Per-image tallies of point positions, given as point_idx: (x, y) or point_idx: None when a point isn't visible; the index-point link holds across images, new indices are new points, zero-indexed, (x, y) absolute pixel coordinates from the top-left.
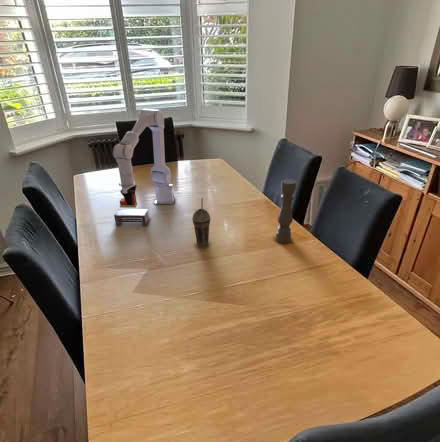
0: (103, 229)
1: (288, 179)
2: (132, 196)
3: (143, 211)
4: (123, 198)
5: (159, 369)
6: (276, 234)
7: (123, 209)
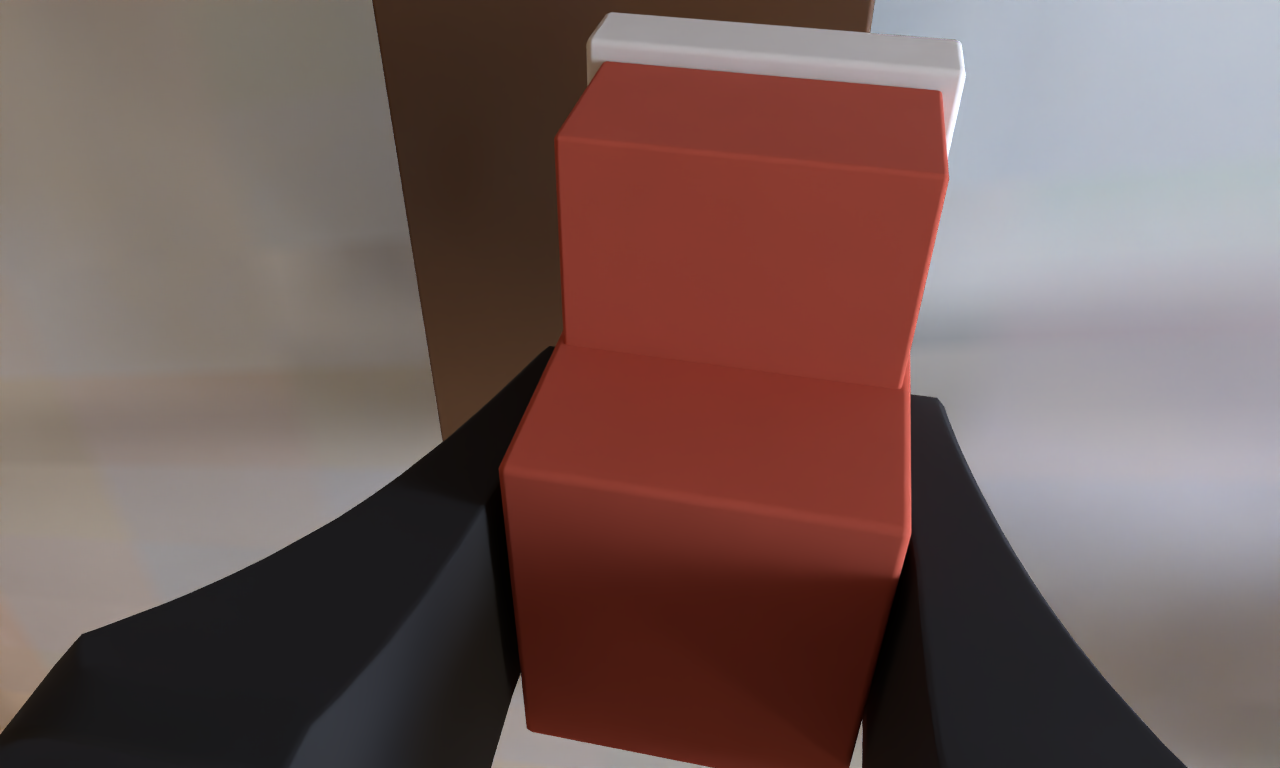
0: None
1: None
2: (498, 739)
3: None
4: (901, 269)
5: None
6: None
7: (844, 18)
